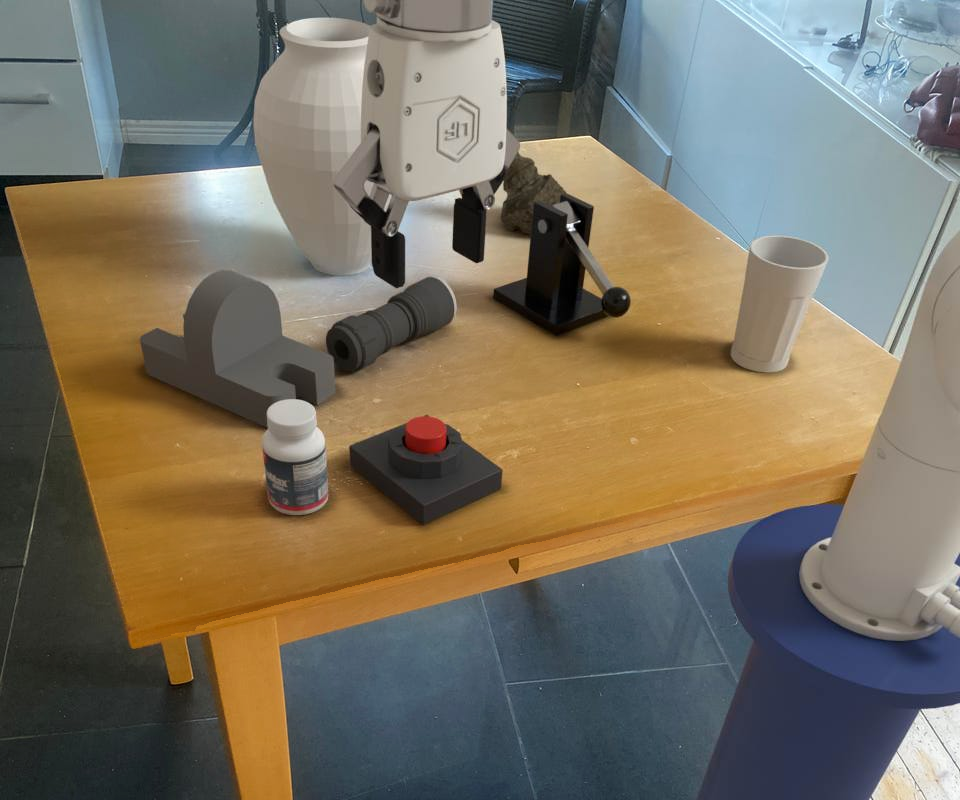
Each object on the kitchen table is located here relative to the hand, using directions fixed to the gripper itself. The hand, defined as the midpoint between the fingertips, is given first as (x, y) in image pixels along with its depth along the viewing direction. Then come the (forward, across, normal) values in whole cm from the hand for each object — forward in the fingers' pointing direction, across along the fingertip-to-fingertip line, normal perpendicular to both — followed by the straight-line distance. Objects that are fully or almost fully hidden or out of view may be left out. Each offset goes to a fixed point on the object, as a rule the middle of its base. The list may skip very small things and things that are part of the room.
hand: (429, 266), depth 76 cm
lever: (+14, +33, +14) cm, 38 cm away
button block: (+20, 0, 0) cm, 20 cm away
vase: (+20, +19, +41) cm, 49 cm away
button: (+16, 0, 0) cm, 16 cm away
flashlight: (+20, +12, +21) cm, 31 cm away
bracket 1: (+20, -5, +24) cm, 32 cm away
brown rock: (+20, +47, +35) cm, 62 cm away
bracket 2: (+20, +33, +18) cm, 42 cm away
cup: (+20, +44, -4) cm, 48 cm away
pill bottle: (+20, -11, +4) cm, 23 cm away
